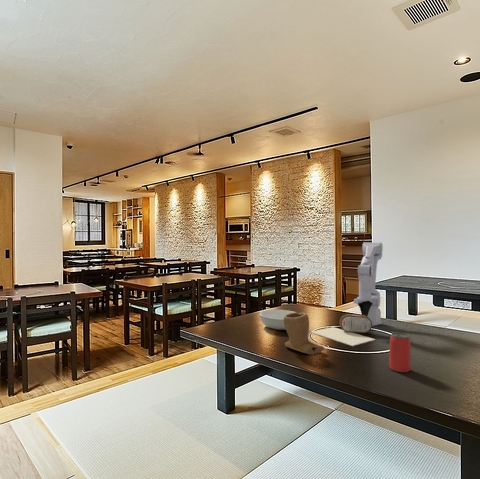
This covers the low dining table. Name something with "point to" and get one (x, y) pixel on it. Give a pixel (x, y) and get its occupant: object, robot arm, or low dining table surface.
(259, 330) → the low dining table surface
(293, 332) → the tan boot-shaped piece
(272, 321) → the serving bowl
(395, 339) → the beer can
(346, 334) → the mat
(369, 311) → the robot arm
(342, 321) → the tin
